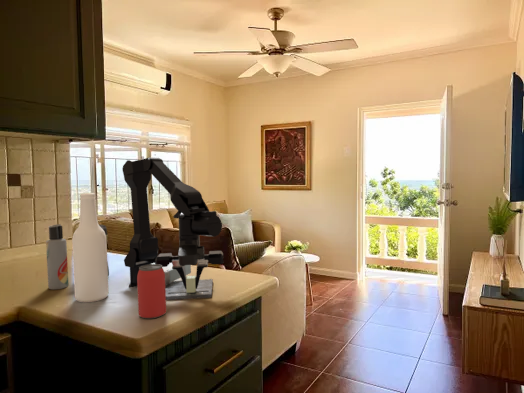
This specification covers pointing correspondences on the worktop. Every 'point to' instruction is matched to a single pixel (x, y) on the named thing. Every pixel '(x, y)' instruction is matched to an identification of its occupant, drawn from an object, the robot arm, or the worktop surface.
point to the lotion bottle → (57, 258)
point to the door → (175, 274)
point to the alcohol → (89, 254)
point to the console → (179, 292)
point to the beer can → (151, 291)
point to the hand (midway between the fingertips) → (191, 288)
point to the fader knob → (190, 284)
